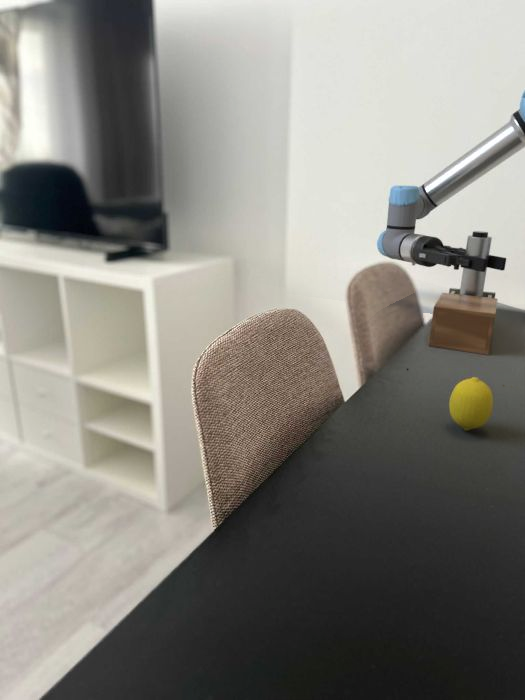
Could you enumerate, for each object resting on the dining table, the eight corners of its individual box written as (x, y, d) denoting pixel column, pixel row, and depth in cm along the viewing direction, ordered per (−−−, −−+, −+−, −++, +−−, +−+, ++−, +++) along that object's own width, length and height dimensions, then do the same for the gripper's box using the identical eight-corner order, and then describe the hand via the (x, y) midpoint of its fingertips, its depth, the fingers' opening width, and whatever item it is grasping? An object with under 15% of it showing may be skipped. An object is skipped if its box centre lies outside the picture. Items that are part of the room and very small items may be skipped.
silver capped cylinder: (467, 310, 124) (480, 230, 117) (484, 316, 119) (497, 232, 113) (452, 312, 122) (463, 231, 115) (467, 318, 117) (480, 233, 111)
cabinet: (437, 328, 120) (442, 292, 117) (491, 335, 115) (497, 298, 112) (428, 346, 107) (433, 306, 104) (488, 355, 103) (495, 313, 100)
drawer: (446, 313, 130) (450, 286, 128) (491, 318, 126) (495, 291, 124) (439, 327, 117) (443, 298, 115) (488, 334, 113) (493, 304, 111)
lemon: (438, 429, 72) (446, 376, 69) (456, 417, 76) (464, 367, 73) (477, 444, 68) (487, 389, 66) (494, 430, 72) (504, 378, 69)
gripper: (447, 263, 137) (521, 279, 117) (392, 266, 130) (460, 284, 110) (451, 234, 134) (527, 246, 114) (395, 236, 127) (465, 249, 107)
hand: (494, 264), depth 112 cm, fingers closed on silver capped cylinder, 5 cm apart
